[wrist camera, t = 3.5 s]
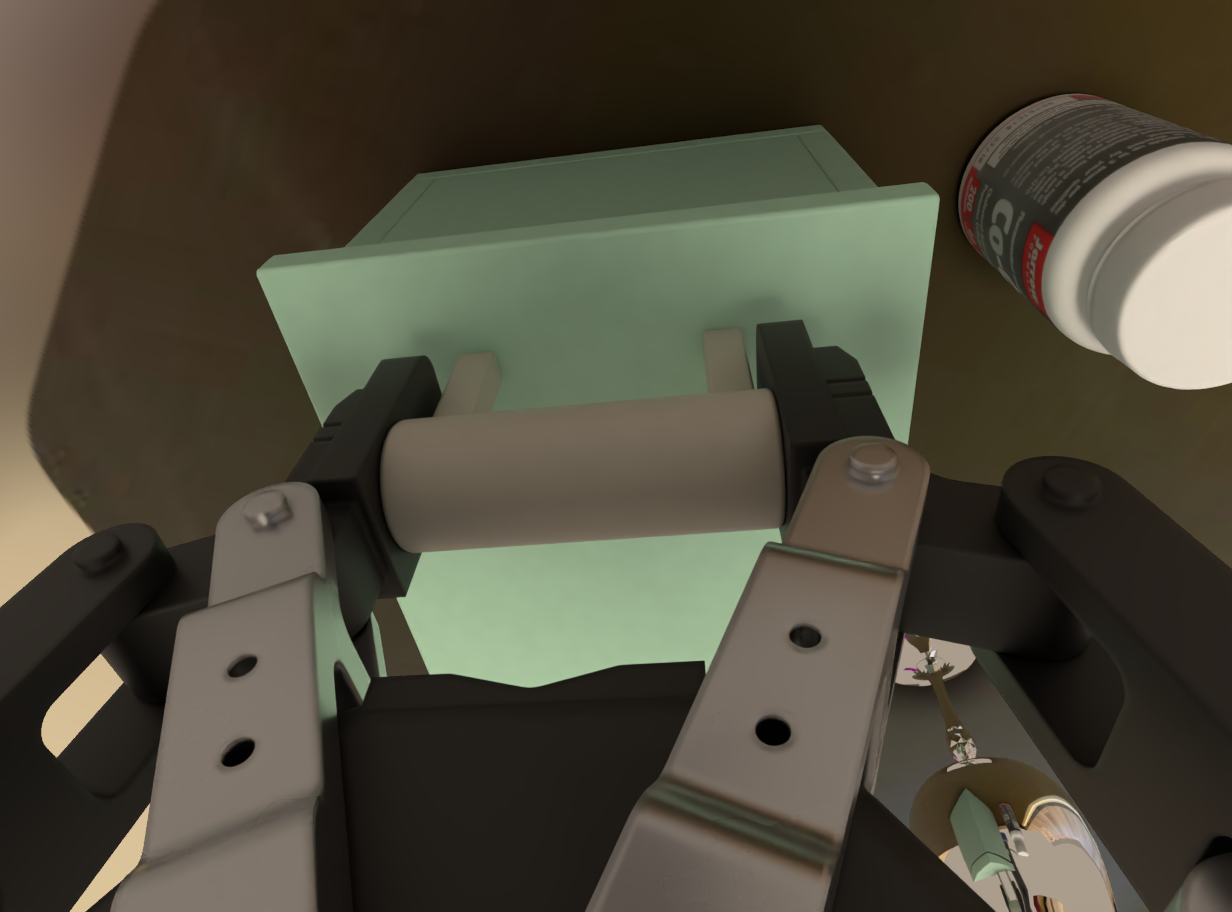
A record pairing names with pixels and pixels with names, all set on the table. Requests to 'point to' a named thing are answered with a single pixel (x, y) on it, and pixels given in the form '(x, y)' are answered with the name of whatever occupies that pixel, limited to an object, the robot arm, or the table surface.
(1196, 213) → the pill bottle
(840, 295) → the bin lid
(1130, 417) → the table surface
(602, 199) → the bin
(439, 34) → the table surface
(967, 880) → the wineglass
